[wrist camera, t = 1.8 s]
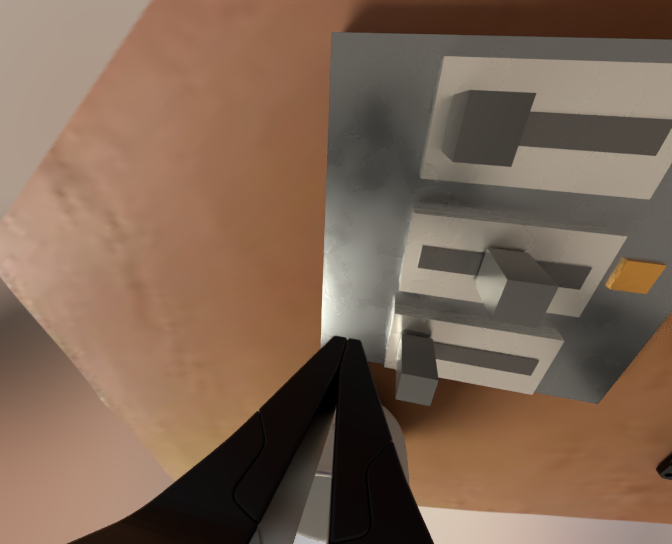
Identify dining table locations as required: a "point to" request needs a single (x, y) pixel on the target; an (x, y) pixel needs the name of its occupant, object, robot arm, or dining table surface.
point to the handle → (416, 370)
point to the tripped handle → (514, 287)
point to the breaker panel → (500, 204)
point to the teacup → (319, 495)
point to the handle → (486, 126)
